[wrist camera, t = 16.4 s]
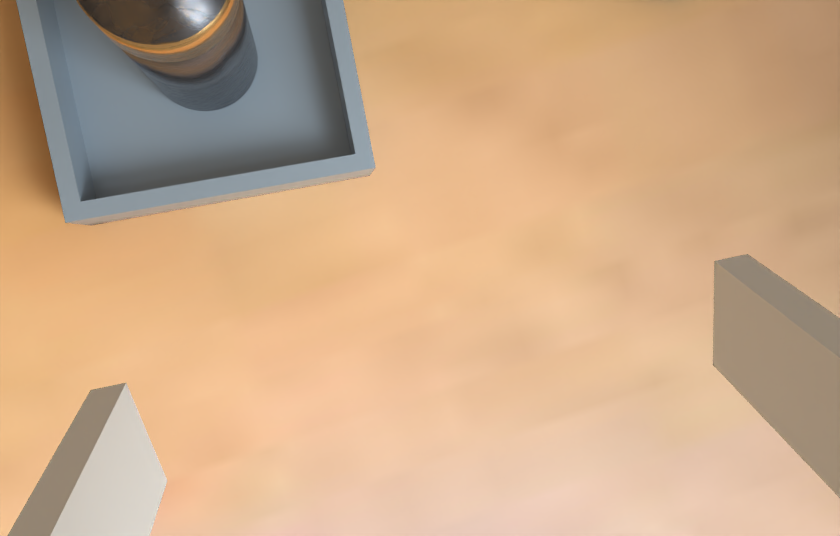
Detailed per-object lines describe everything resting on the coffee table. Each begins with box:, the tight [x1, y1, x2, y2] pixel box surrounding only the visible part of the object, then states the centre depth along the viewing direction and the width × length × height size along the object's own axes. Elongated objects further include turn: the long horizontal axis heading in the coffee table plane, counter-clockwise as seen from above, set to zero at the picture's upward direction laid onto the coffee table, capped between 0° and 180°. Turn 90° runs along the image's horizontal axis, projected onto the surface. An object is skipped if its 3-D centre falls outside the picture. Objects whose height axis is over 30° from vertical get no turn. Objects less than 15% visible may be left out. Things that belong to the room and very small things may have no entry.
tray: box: [16, 0, 375, 225], centre depth 33 cm, size 14×14×4 cm
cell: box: [76, 0, 258, 111], centre depth 27 cm, size 5×5×12 cm
